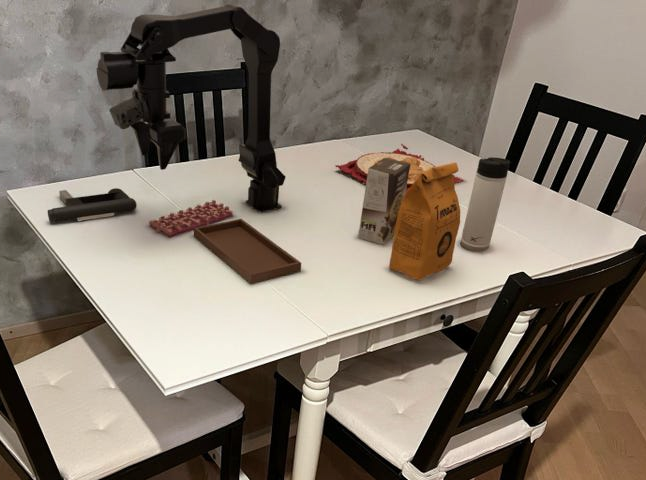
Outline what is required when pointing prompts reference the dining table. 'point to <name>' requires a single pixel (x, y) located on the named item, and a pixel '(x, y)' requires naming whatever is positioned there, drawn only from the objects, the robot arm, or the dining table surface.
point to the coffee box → (383, 199)
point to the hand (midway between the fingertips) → (153, 162)
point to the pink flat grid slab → (191, 219)
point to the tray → (247, 250)
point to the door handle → (92, 206)
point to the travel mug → (484, 203)
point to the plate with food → (366, 161)
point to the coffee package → (427, 224)
